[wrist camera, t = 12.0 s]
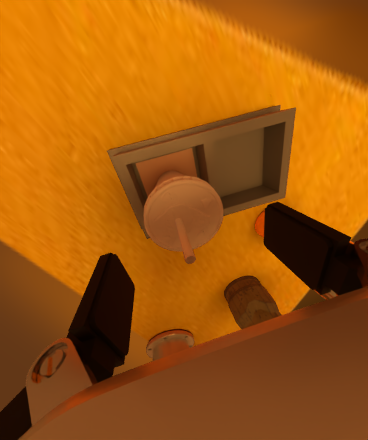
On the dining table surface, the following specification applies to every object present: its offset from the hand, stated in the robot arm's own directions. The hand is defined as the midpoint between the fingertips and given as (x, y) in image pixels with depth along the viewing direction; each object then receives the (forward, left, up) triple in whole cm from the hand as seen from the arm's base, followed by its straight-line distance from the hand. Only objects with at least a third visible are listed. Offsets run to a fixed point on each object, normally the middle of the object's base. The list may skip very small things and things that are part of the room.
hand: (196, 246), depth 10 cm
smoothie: (0, 0, -13) cm, 13 cm away
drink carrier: (0, -5, -14) cm, 15 cm away
